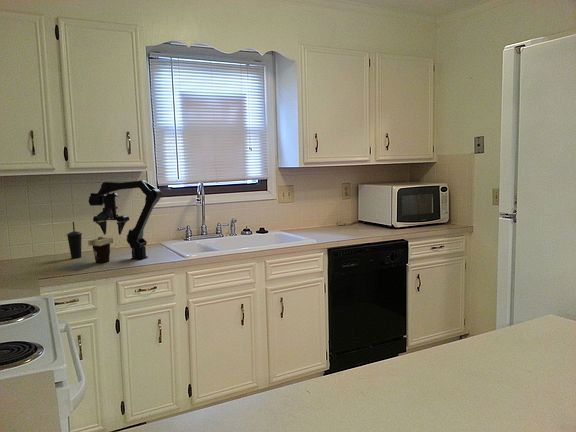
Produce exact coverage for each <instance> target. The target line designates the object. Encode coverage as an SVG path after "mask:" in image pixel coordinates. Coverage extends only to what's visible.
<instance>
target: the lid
mask: <svg viewBox="0 0 576 432" xmlns="http://www.w3.org/2000/svg"><path fill="white" fill-rule="evenodd" d="M87 243H88V245H87V246H88V247H89V246H90V247H93V246H102V245H106V244H110V245H111V244H113V243H114V238H113V237H103V236H99V237H97V238H93V239H89V240H88V241H87Z"/></svg>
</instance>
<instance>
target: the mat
mask: <svg viewBox="0 0 576 432" xmlns="http://www.w3.org/2000/svg"><path fill="white" fill-rule="evenodd" d="M99 265H100V263H91V262H90V263H89V262H76V263H72V264H70V265H69V264H68V265H66V266H63V267H58V268H56V269H54V271H66V272H79V271H82V270H85V269H89V268H92V267H94V266H95V267H96V266H99Z"/></svg>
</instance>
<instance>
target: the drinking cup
mask: <svg viewBox="0 0 576 432" xmlns="http://www.w3.org/2000/svg"><path fill="white" fill-rule="evenodd" d="M82 236H83V233H82V232H80V231H77V230H75V221H72V231H70V232H68V233H67V234H66V237H67V242H68V246H69V252H70V257H71V259H73V260H75V259H77V260H78V259H80V258H82Z"/></svg>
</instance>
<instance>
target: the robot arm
mask: <svg viewBox="0 0 576 432" xmlns="http://www.w3.org/2000/svg"><path fill="white" fill-rule="evenodd" d="M128 189H140V190H141V192H142V193H143V194H144V195H145V201H144V202H145V203H144V206H143V207H142V210H141V212H140V215H139V217H138V219H137V222H136V224H135V226H134V228H131V229H129V230H128V232H127V235H126V242H127V244H128V245H129V248H130V249H131V258H130V260H139V261H140V260H144V259H147V258H149V256H147V252H146V251H147V248H146V246H147V243H148V241H147V240H145V239H144V238H143V237H144V229H145V227H146V224H147V222H148V221H149V217H150V216H151V214H152V212H153V209H154V207H155V206H156V205H157V204H158V202H159V201H160V200H161V198H162V197H163V193H162V191H161V190H160V189H158V188H156V187H155V186H154V185H152V184H151V183H148V182H147V181H146V180H145V179H140V180H135V181H124V182H123V181H122V182H121V181H120V182H119V181H104V182H102V183H101V185H100V188H99V190H98V191H97V193H95V192H91V193H90V196H89V197H88V203H89V206H90V207H97V206H98V207H99V206H104V207H102V211H101V212H99V213H98V214H96V215H95V216H93V218H92V222H93V223H95V224H96V225H98V226H99V227H100V229H101V231H102V233H103V235H105V236H106V234H107V226H108V225H107V223H108V222H107V221H116V222H115V223H116V225H117V230H118V235H119V236H121V234H122V232H123V230H124V228H125V225H126V223H127V222H128V221H130V217H129V215H127V214H126V215H125V214H124V215H123V214H122V215H119V214H117V209H118V208H119V207H118V206H117V204H116V198H117V197H120V195H119V194H118V193H117V191H121V190H128Z"/></svg>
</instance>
